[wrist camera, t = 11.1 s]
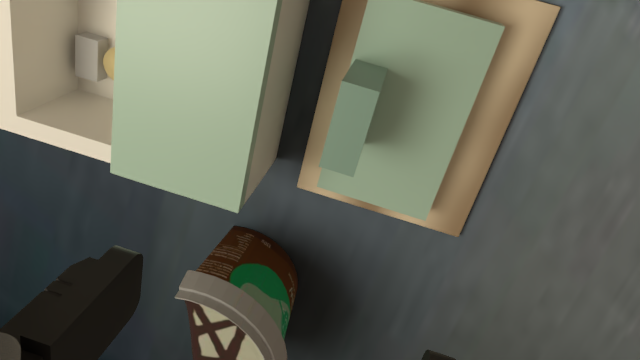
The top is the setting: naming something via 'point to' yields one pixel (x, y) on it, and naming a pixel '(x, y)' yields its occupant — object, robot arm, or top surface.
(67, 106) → the parts tub
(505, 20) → the cork mat
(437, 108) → the lid piece
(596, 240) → the top surface
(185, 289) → the food container
